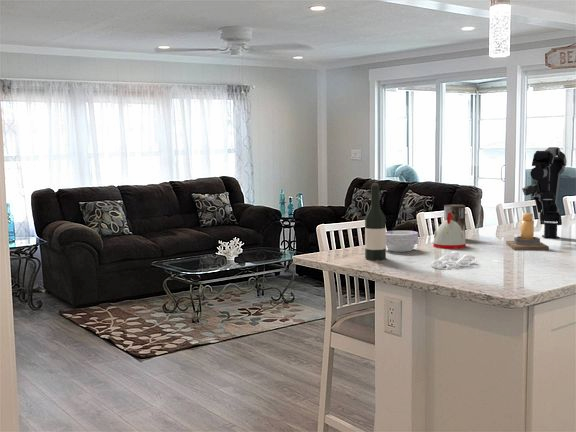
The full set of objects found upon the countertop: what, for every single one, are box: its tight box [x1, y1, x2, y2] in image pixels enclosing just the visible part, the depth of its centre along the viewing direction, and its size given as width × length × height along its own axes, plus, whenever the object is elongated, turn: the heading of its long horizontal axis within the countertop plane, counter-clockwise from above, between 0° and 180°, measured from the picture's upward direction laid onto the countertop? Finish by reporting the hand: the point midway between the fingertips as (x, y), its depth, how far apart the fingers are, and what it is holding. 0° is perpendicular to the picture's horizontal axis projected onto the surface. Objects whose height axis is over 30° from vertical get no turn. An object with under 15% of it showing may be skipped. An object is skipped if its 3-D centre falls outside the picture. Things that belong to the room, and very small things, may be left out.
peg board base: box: [505, 235, 550, 251], centre depth 290 cm, size 16×14×4 cm
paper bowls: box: [386, 230, 419, 253], centre depth 288 cm, size 15×15×8 cm
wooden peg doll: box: [520, 212, 535, 239], centre depth 290 cm, size 5×5×13 cm
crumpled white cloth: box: [429, 250, 477, 270], centre depth 252 cm, size 19×14×4 cm
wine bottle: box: [364, 183, 387, 261], centre depth 268 cm, size 8×8×30 cm
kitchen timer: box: [432, 213, 467, 250], centre depth 296 cm, size 14×14×15 cm
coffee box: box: [443, 204, 466, 235], centre depth 316 cm, size 9×6×16 cm
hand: (541, 213), depth 301 cm, fingers open, 9 cm apart
